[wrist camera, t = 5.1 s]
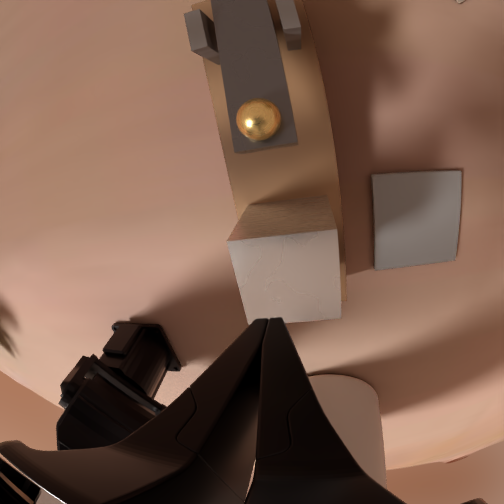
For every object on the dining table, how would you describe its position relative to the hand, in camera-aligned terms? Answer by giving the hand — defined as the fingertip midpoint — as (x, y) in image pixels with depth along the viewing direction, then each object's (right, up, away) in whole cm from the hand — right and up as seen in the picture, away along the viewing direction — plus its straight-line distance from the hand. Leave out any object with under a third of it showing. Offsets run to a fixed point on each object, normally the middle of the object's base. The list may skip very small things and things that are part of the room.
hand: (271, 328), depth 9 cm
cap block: (+2, +3, +8) cm, 9 cm away
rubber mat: (+11, +5, +9) cm, 15 cm away
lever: (-1, +12, +1) cm, 12 cm away
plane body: (+1, +9, +9) cm, 12 cm away
